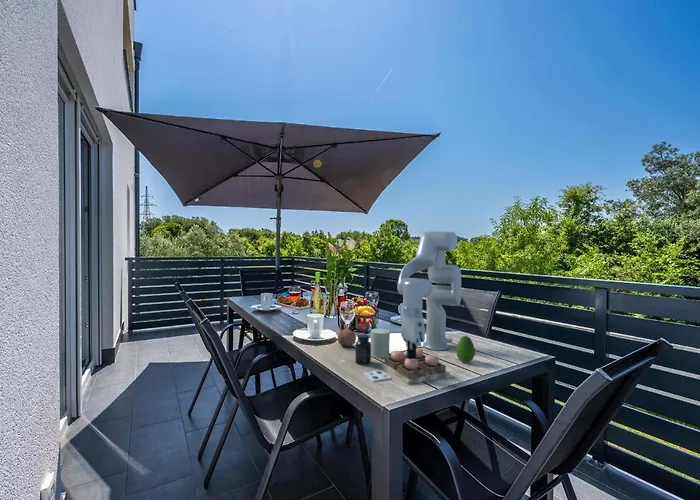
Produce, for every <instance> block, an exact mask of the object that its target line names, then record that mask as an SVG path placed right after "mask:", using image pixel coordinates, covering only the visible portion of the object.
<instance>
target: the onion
mask: <svg viewBox="0 0 700 500" xmlns="http://www.w3.org/2000/svg"><path fill="white" fill-rule="evenodd" d="M356 340H357V336H356V333H355V331H352V330H350V329H349V328H347V327H345V328H343V329H342V330H340V331H339V332H338V334H337V341H338V344H340V346H341V347H343V348H351V347H352V346H353V345H354V344H355V345H356V342H357V341H356Z"/></svg>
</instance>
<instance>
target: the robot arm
mask: <svg viewBox="0 0 700 500" xmlns="http://www.w3.org/2000/svg"><path fill="white" fill-rule="evenodd" d="M457 245H458V236H457V234H456V232H454V231H438V230H437V231H436V230H435V231H425V232H422V233H421V234H420V238H419V242H418V245H417V250H416V253H415V257H414V258H412V259H411V260H409V262H407V263H406V264H405V265H404V266H403V267H402V269H401V270H400V274H399V277H398V280H397V287H396V288H397V292H398V294H400V295H401V296H402V298H403V299H402V318H401V325H400V334H401V335H400V336H401V338H402V340H403V341H404V342H405V347H406V354H407V358H408V359H415V358H416V349H417V348H420V347H423V348H426V349H428V350H431V351H432V350H433V351H446V350H448V349H449V345H448V343H452V342H453V338H451V337H449V338H447V337H446V325H447V324H446V322H447V313H446V311H445V309H444V307H443V305H444V306H452V307H455V306H459V305H460V304H461V300H462V272H461V268H460V267H459V266H458V265H455V264H446V253H445V252H451V251H453V250H455V249H456V248H457ZM424 270H427V273H428V275H427V276H428V279H427V278H418V277H410V276H412V275H413V274H415V273H418V272H421V271H424ZM433 283H434V284H435V285H433ZM438 284H442V285H438ZM445 284H447V285H445ZM448 285H450V286H448ZM423 298H425V301H426V302H425V304H426V325H425V321H424V316H423V300H424V299H423ZM425 326H426V331H425ZM425 332H426V333H425ZM425 335H426V336H425ZM425 338H426V339H425Z"/></svg>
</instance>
